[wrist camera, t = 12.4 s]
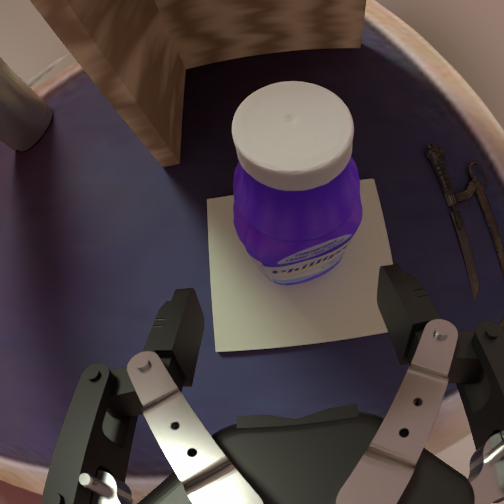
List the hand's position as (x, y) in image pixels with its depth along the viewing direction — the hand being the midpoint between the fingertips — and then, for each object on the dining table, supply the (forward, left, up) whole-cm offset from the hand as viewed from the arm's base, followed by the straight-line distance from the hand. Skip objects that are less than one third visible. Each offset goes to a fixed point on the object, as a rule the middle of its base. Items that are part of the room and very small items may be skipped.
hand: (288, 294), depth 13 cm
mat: (+1, +4, -13) cm, 14 cm away
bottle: (+1, +5, -13) cm, 14 cm away
